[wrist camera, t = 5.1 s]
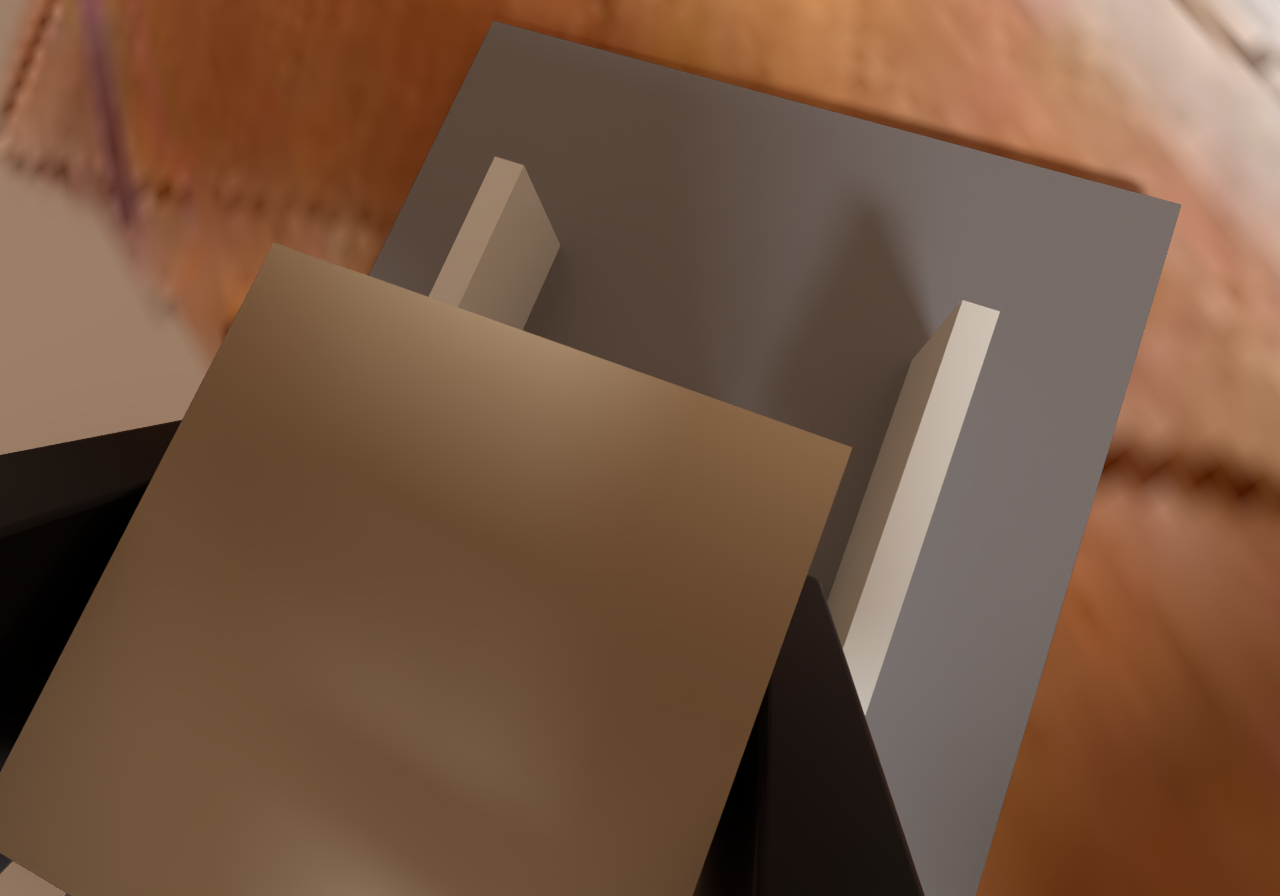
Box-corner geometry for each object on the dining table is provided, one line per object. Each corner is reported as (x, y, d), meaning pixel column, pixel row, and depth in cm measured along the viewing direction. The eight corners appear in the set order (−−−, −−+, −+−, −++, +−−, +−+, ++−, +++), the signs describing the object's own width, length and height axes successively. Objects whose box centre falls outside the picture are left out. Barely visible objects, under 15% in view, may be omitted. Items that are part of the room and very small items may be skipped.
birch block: (674, 785, 13) (584, 1201, 4) (444, 678, 14) (-32, 833, 5) (766, 538, 14) (852, 448, 5) (541, 451, 15) (275, 243, 6)
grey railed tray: (734, 1622, 11) (742, 2142, 7) (-12, 1110, 14) (-278, 1301, 10) (1157, 224, 15) (1303, 104, 11) (503, 45, 18) (446, -99, 14)
